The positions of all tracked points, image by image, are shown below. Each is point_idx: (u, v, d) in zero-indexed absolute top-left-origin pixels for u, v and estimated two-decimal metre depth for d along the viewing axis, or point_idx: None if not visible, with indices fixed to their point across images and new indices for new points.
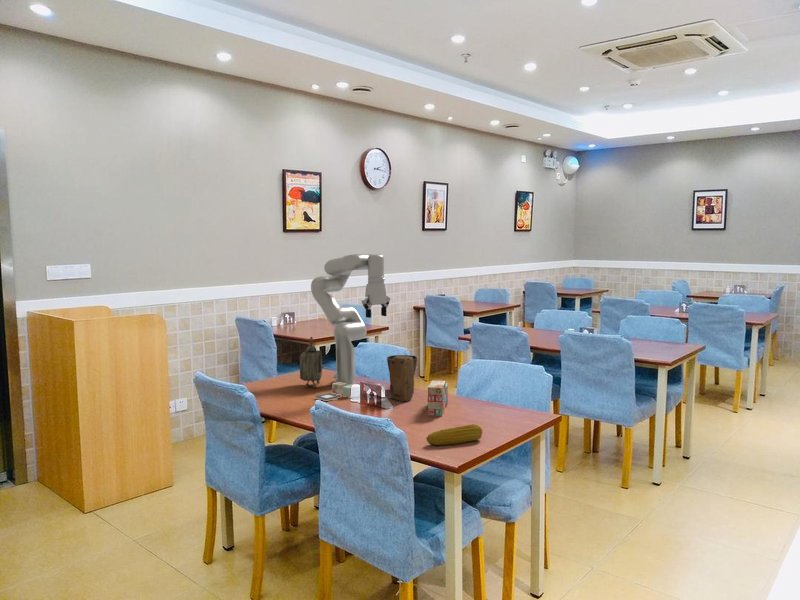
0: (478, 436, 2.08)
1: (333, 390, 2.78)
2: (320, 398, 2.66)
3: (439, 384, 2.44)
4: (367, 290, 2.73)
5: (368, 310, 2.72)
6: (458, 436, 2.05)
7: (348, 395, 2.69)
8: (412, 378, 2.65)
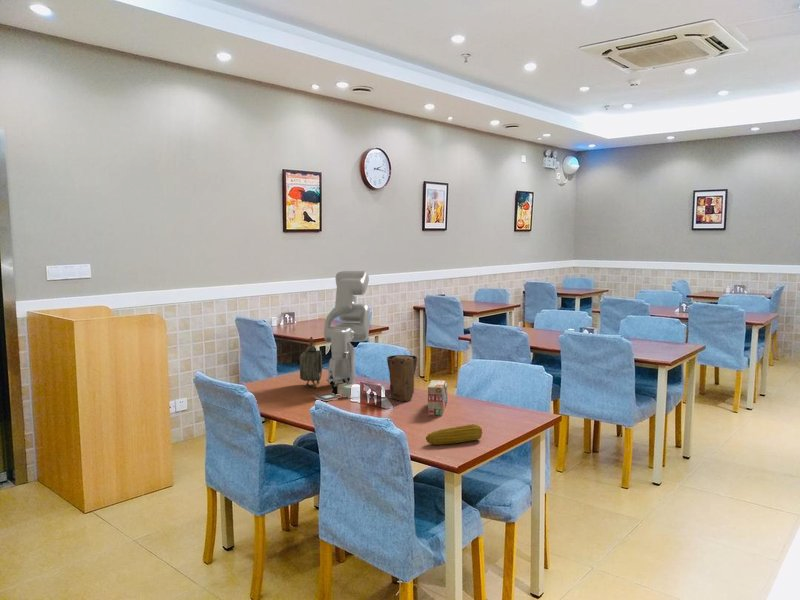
0: (478, 436, 2.08)
1: None
2: (320, 398, 2.66)
3: (439, 384, 2.45)
4: (330, 365, 2.74)
5: (334, 387, 2.75)
6: (458, 436, 2.05)
7: (348, 395, 2.69)
8: (412, 378, 2.65)
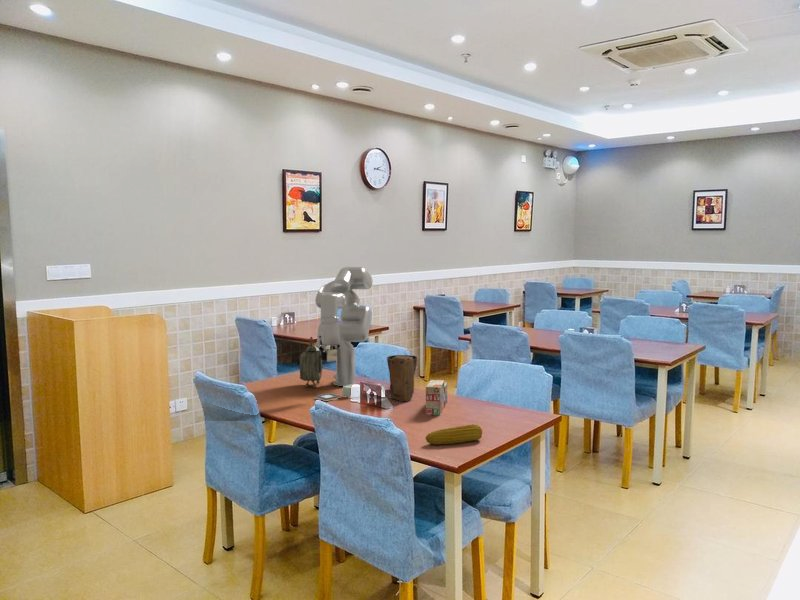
0: (478, 436, 2.08)
1: None
2: (320, 398, 2.66)
3: (437, 383, 2.45)
4: (319, 330, 2.64)
5: (323, 353, 2.65)
6: (457, 436, 2.05)
7: (348, 395, 2.69)
8: (412, 378, 2.65)
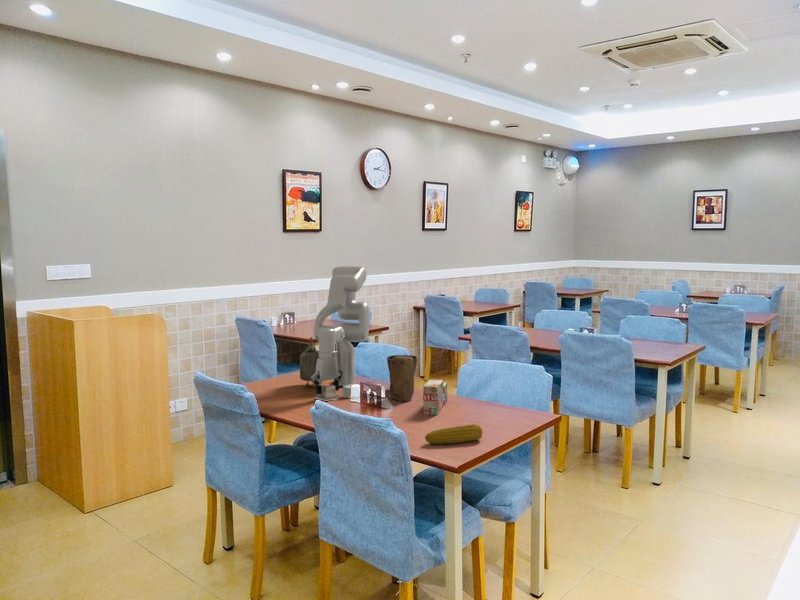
0: (478, 436, 2.08)
1: None
2: (320, 398, 2.66)
3: (435, 383, 2.46)
4: (317, 365, 2.64)
5: (318, 386, 2.64)
6: (457, 436, 2.05)
7: (348, 395, 2.69)
8: (412, 378, 2.65)
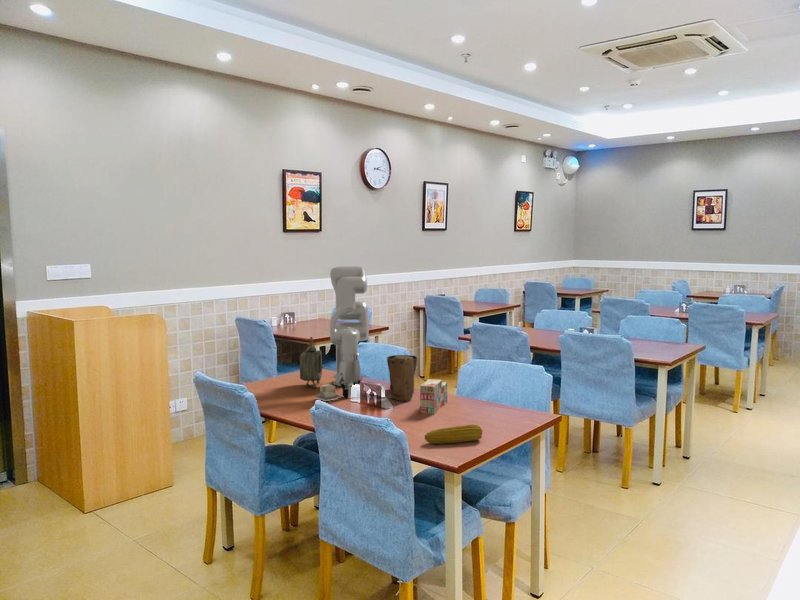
0: (478, 436, 2.08)
1: (321, 393, 2.68)
2: (320, 398, 2.66)
3: (433, 383, 2.47)
4: (340, 368, 2.68)
5: (345, 390, 2.69)
6: (456, 435, 2.05)
7: (348, 395, 2.69)
8: (412, 378, 2.65)
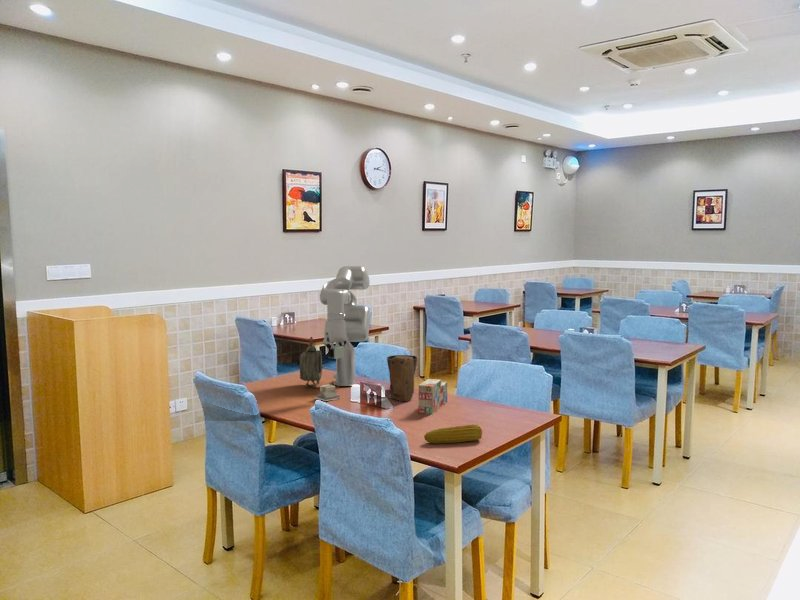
0: (477, 436, 2.07)
1: (321, 393, 2.68)
2: (320, 398, 2.66)
3: (431, 382, 2.47)
4: (326, 327, 2.64)
5: (331, 350, 2.65)
6: (456, 435, 2.06)
7: (334, 355, 2.65)
8: (412, 378, 2.65)
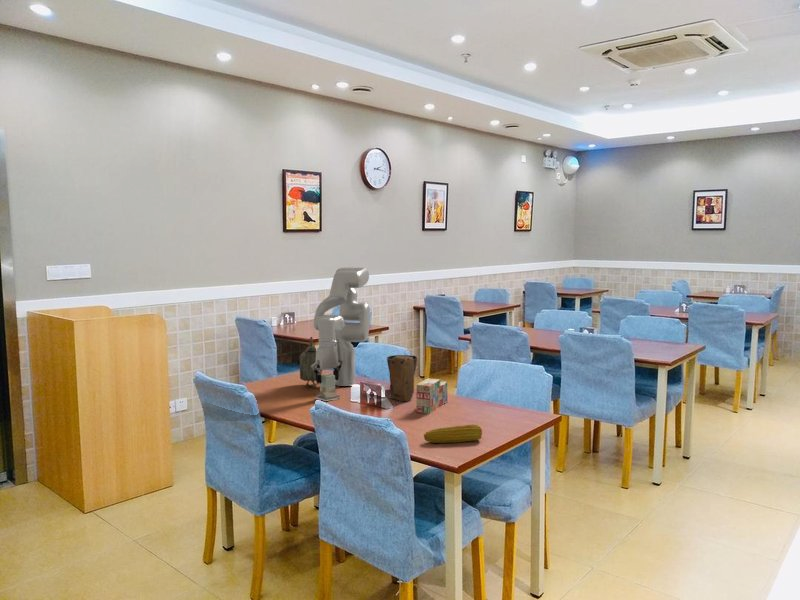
0: (477, 436, 2.07)
1: (321, 393, 2.68)
2: (320, 398, 2.66)
3: (430, 382, 2.48)
4: (317, 355, 2.64)
5: (318, 375, 2.63)
6: (455, 435, 2.06)
7: (325, 384, 2.65)
8: (412, 378, 2.65)
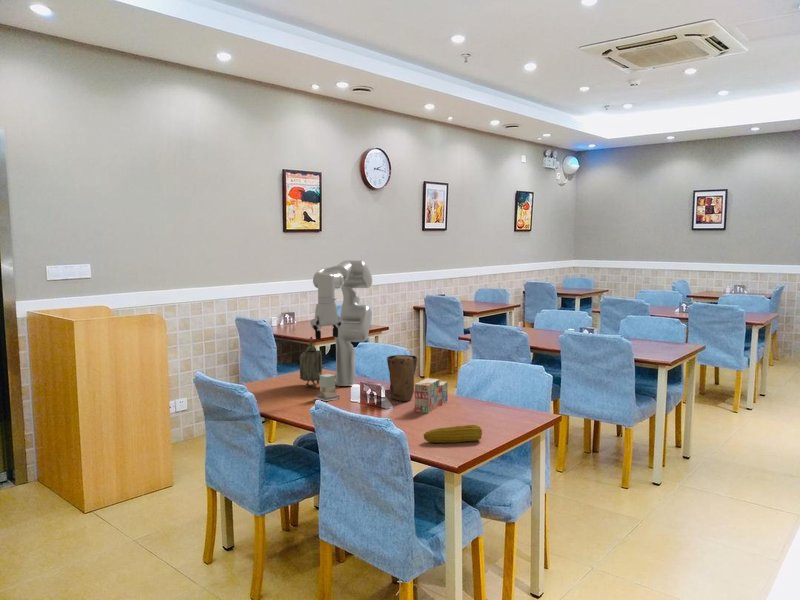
0: (477, 437, 2.07)
1: (321, 393, 2.68)
2: (320, 398, 2.66)
3: (428, 382, 2.48)
4: (317, 311, 2.62)
5: (317, 332, 2.61)
6: (455, 435, 2.06)
7: (325, 384, 2.65)
8: (412, 378, 2.65)
